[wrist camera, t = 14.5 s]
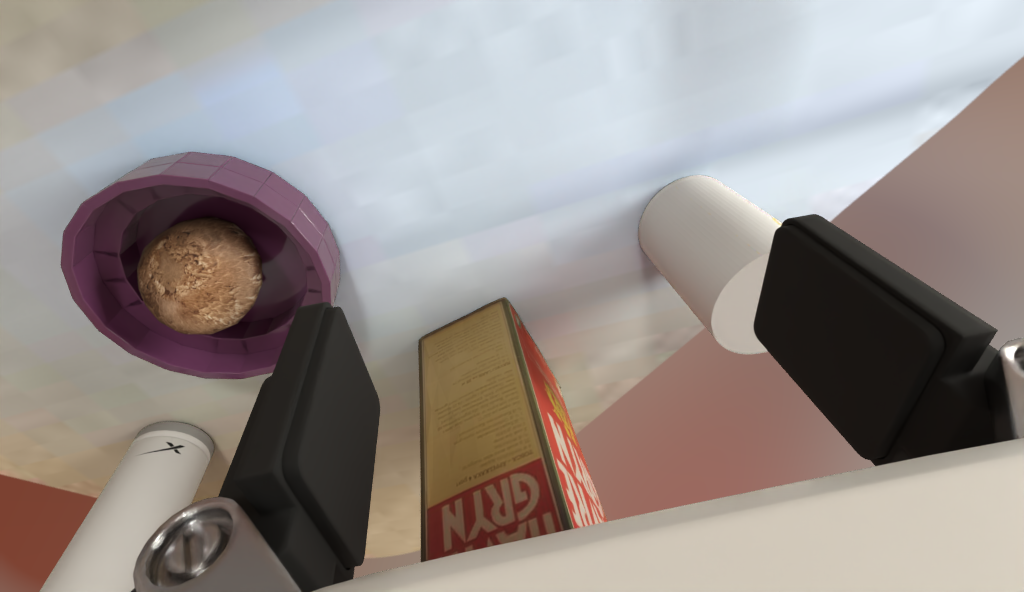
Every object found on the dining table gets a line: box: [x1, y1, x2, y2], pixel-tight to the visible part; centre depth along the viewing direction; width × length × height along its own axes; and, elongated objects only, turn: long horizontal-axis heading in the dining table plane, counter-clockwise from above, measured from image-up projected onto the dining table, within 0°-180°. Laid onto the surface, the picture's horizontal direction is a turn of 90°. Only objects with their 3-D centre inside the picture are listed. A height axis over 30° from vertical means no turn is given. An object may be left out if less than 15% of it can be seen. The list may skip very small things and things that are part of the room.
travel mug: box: [40, 422, 214, 592], centre depth 35 cm, size 6×7×20 cm
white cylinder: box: [638, 175, 782, 354], centre depth 35 cm, size 8×8×12 cm
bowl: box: [61, 152, 340, 379], centre depth 33 cm, size 15×15×5 cm
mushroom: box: [137, 217, 262, 334], centre depth 32 cm, size 8×8×6 cm
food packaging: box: [418, 298, 608, 562], centre depth 34 cm, size 13×9×25 cm
